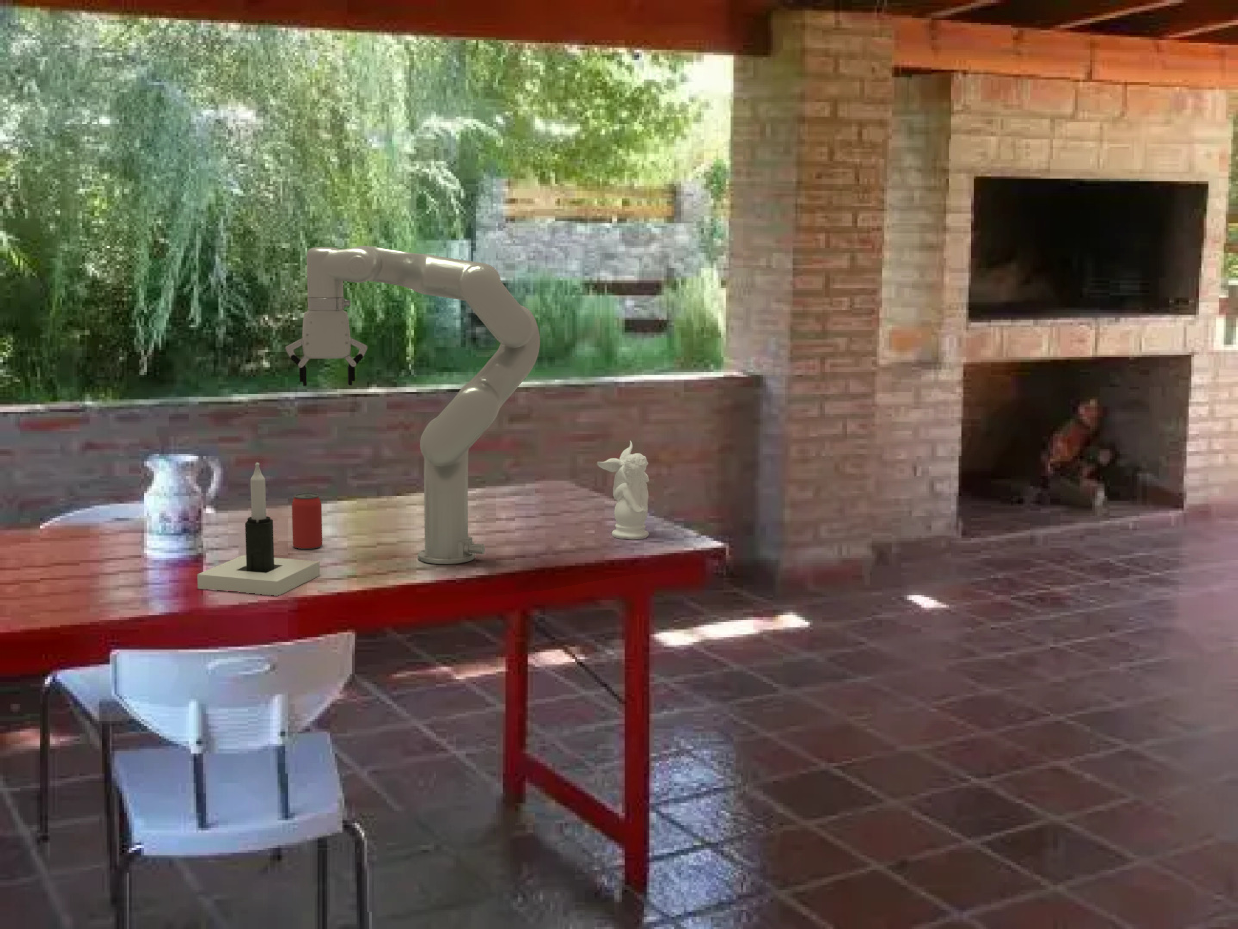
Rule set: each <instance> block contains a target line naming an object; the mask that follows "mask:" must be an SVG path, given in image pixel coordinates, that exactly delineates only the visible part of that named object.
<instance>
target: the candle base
mask: <svg viewBox="0 0 1238 929" xmlns="http://www.w3.org/2000/svg"><path fill="white" fill-rule="evenodd" d="M320 564H321V563H320V561H316V560H308V559H293V558H281V557H274V570H272V571H270V572H267V573H261V572H249V571H247V566H246V554H241V555H240V556H238V557H235V558H233V559H231V560H228V561H226V562H223V563H221V564H219V565H216V566H214V567H211V568H208V569H206V570H205V571H202V572H200V573H197V574H196V576H197V577H196V578H197V589H198V590H206V589H216V590H215V591H217V590H233V591H240V592H246V593H245V594H249V593H255V594H254V595H260V594H262V596H263V595H264V596H271V595H274V596H273V597H278V595H279V596H281V595H283V594H285V593H287V592H289V591H291V590H293V589H294V588H297V587H299V586H301V585H303V584H306V583H308V582H309V581H311V580H313V579H315V578H318V577H320V575H321V574H320V573H321V570H320V567H321V566H320Z"/></svg>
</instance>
